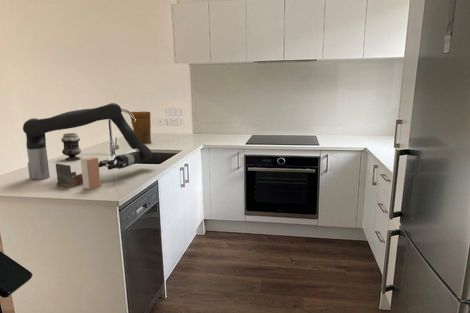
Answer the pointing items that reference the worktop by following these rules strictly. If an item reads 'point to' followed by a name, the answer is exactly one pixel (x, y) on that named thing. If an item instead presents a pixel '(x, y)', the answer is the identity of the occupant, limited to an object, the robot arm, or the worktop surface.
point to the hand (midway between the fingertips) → (102, 166)
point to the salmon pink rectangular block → (90, 173)
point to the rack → (67, 176)
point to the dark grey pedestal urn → (71, 146)
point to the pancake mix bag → (142, 126)
